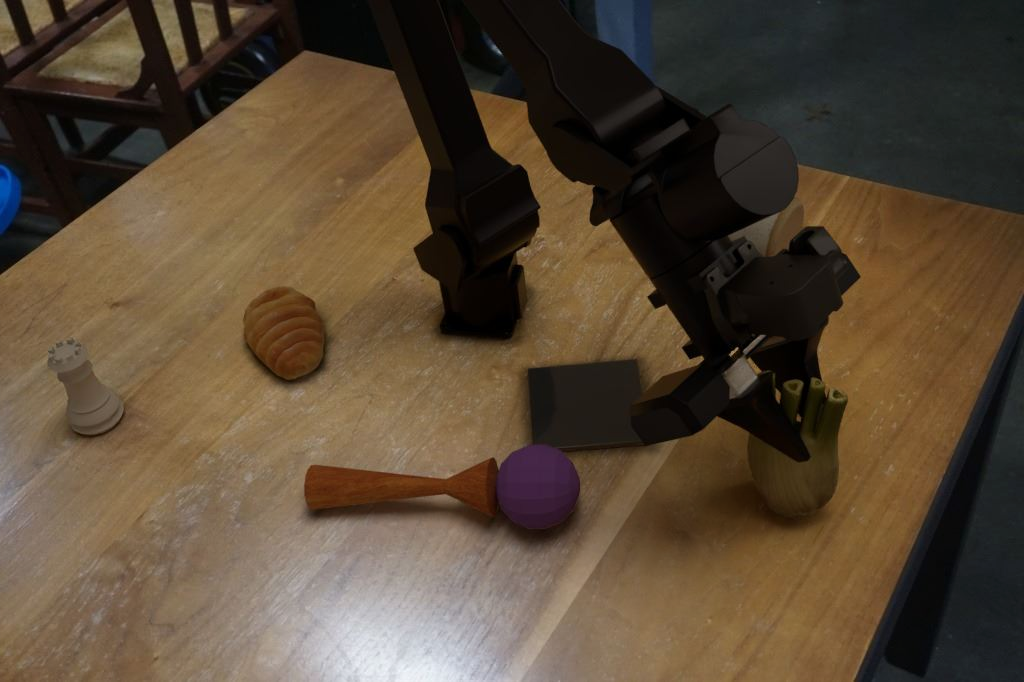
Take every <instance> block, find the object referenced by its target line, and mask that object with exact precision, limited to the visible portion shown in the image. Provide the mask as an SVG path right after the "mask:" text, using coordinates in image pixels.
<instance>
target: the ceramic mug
mask: <svg viewBox="0 0 1024 682" xmlns="http://www.w3.org/2000/svg"><path fill="white" fill-rule="evenodd" d="M804 218H805V207H804V205H803V202H802V200H801V199H799V198H798V197H797V196H796V195H795V196H794V199H793V200H792V202H791V203H790V204H789V205H788V207H787V208H786V209H784V210H783V211H781V212H779V213H777V214H775V215H772V216H770V217H768V218H766V219H764V220H761V221H759V222H757V223H755V224H752V225H750V226H748V227H746V228H744V229H741V230H739V231H737V232H735V233H732V234H730V235H728V237H729V238H730V240H731V241H734V240H736V239H738V238H740V237H742V236H745V238H746V239H747V241H751V242H752V243H753V244H754V246H755V247H756V249H757V250H758V252H759V253H761V254H762V255H763V256H764V257H772V256H775V255H776V254H777V253H778V252H780V251H781V250H782V249H788V250H789V243H790V241H791V239H792V238H794V237H795V236H796V235H797V234H798V233H799V232H800V231H801V230H803V229H802V228H803V225H804V224H803V223H804Z"/></svg>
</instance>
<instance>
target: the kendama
mask: <svg viewBox="0 0 1024 682" xmlns="http://www.w3.org/2000/svg"><path fill="white" fill-rule="evenodd" d="M303 495H304V500H305V503H306V506H307V507H308V508H309V509H310V510H311V511H312V510H322V509H329V508H330V509H331V508H338V507H339V508H340V507H347V506H355V505H363V504H372V503H382V502H390V501H400V500H408V499H416V498H425V497H434V496H441V495H442V496H443V495H446V496H448V497H450V498H452V499H454V500H457V501H459V502H461V503H463V504H465V505H468V506H469V507H471V508H474V509H475V510H478V511H480V512H482V513H484V514H486V515H488V516H490V517H494V516H495V515H496V514H497V512H498V508H500V509H501V511H502V512H503V513H504V514H505V515H506V516H507V517H508V518H509V519H510V520H511V522H513V523H514V524H516V525H519V526H521V527H523V528H526V529H528V530H546V529H549V528H551V527H553V526H556V525H559V524H561V523H562V522H563V521H565V519H566V518H568V517H569V515H570V514H571V513H572V512H573V511H574V510H575V508H576V505H577V503H578V500H579V497H580V495H581V478H580V475H579V473H578V471H577V468H576V466H575V464H574V462H573V461H572V460H571V458H570V457H568V455H566V453H564V452H562V451H561V450H558V449H556V448H554V447H551V446H549V445H532V444H527V445H525V446H523V447H520V448H518V449H516V450H513V451H511V452H510V453H509V454H508V456H507V457H506V458H505V459H504V460H503V461H502V462H501V463H500V466H498V462H497V460H496V458H495V457H494V456H493V457H490V458H487V459H485V460H483V461H481V462H479V463H477V464H475V465H472V466H471V467H468V468H467V469H464V470H462V471H460V472H458V473H456V474H453V475H452V476H450V477H448V478H447V477H446V478H442V477H441V478H439V477H433V476H432V477H430V476H421V475H413V474H404V473H395V472H384V471H376V470H367V469H356V468H348V467H342V466H341V467H340V466H331V465H321V464H311V465H310V466H309V467H308V468H307V471H306V473H305V476H304V484H303Z"/></svg>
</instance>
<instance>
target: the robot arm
mask: <svg viewBox="0 0 1024 682" xmlns="http://www.w3.org/2000/svg"><path fill="white" fill-rule="evenodd" d="M461 1H462V3H463V4H464V6H465V7H466V8H467V9H468V11H469V12H470V13H471V15H472V16H473V18H474V20H476V22H477V23H478V24H479V26H480V27H481V28H482V30H483V31H484V32H485V34H486V35H487V36H488V38H489V39H490V40H491V42H492V43H493V45H495V47H496V49H497V50H498V51H499V52H500V54H501V55H502V57H504V59H505V60H506V62H507V63H508V65H509V66H510V67H511V69H513V71H514V72H515V74H516V75H517V77H518V79H519V81H520V82H521V84H522V86H523V88H524V90H525V99H526V109H527V110H526V111H527V119H528V123H529V125H530V127H531V129H532V130H533V132H534V134H535V135H536V136H537V139H538V140H539V142H540V144H541V145H542V147H543V149H544V150H545V152H546V155H547V157H548V159H549V161H550V163H551V164H552V165H553V167H554V168H555V169H556V170H557V171H558V172H559V173H560V174H561V175H563V176H564V178H566V179H567V180H568V181H570V182H572V183H577V182H578V183H581V184H584V185H586V186H593V187H592V189H591V192H592V203H591V206H590V209H589V218H588V220H589V223H590V225H592V226H593V227H598V226H600V225H602V224H603V223H605V222H607V221H609V222H610V224H611V225H612V227H613V228H614V229H615V231H616V233H617V234H618V235H619V237H620V239H621V240H622V242H623V243H624V244H625V246H626V247H627V249H628V250H629V251H630V253H631V254H632V256H633V257H634V259H635V260H636V263H638V265H639V266H640V268H641V269H642V271H643V272H644V274H645V275H646V277H647V279H649V281H650V283H651V284H652V286H654V288H655V289H654V290H653V291H652V292H651V293H649V294H648V295H647V296H646V298H647V299H648V301H649V303H650V304H651V305H652V306H653V308H654V310H657V309H659V308H662V307H665V306H667V307H668V309H669V310H670V312H671V314H672V315H673V316H674V318H675V319H676V322H678V324H679V325H680V326H681V328H682V329H683V331H684V333H685V334H686V335H687V337H688V338H689V340H687V342H685V343H684V344H683V345H682V346H681V349H682V350H683V352H684V353H685V355H686V357H687V358H688V359H689V360H693V359H696V358H699V357H702V359H703V360H702V361H701V362H699V363H698V364H697V365H693V366H690V367H687V368H683V369H681V370H677V371H674V372H671V373H668V374H665V375H662V376H661V377H659V379H657V380H656V381H655V382H654V383H653V384H652V385H651V386H650V387H649V388H647V390H645V391H644V392H642V393H643V394H642V395H641V396H640V397H639V398H638V399H636V400H635V401H634V402H633V403H632V404H631V405H630V422H631V426H632V428H633V429H634V431H635V432H636V434H637V435H638V436H639V438H640V439H641V441H642V442H643V444H644V445H643V446H645V447H648V446H649V447H650V446H652V445H653V446H654V445H656V444H658V445H659V444H661V443H662V444H663V443H666V442H670V441H674V440H679V439H683V438H688V437H691V436H692V437H693V436H695V435H696V434H698V433H699V432H701V431H703V430H705V429H706V428H707V427H708V426H709V425H710V424H711V423H712V422H713V421H714V420H715V419H716V418H720V419H721V420H724V421H726V422H727V423H730V424H732V425H734V426H736V427H738V428H740V429H742V430H743V431H745V432H747V433H748V434H749V433H750V434H752V435H754V436H755V437H757V438H759V439H760V440H762V441H764V442H765V443H767V444H768V445H770V446H772V447H773V448H775V449H777V450H778V451H780V452H781V453H783V454H785V455H786V456H788V457H790V458H791V459H793V460H795V461H796V462H799V463H800V462H806V461H808V460H809V459H810V458H811V456H810V453H809V451H808V450H807V448H806V446H805V444H804V442H803V440H802V438H801V436H800V435H799V433H798V432H797V430H796V429H795V427H794V426H793V424H792V423H791V421H790V420H789V418H788V417H787V415H786V414H785V412H784V411H783V409H782V408H781V406H780V405H779V403H780V402H779V401H778V400H777V397H776V398H775V397H774V395H773V373H775V383H776V391H778V392H779V394H780V395H781V392H782V387H783V384H784V382H787V381H790V380H795V379H797V380H800V381H802V382H803V385H804V386H803V390H802V396H801V402H800V405H799V410H798V416H799V417H800V418H801V417H802V414H803V409H804V406H805V402H806V398H807V394H808V390H809V386H810V381H811V378H812V377H815V378H818V379H820V380H821V381H823V379H822V374H821V369H820V363H819V355H818V348H819V345H820V342H821V339H822V335H823V332H824V330H825V329H826V327H827V326H828V325H829V322H830V317H829V316H830V315H831V314H832V313H833V312H838V311H840V309H841V308H842V307H843V306H844V301H843V295H844V294H845V293H846V292H847V291H849V289H850V288H851V287H853V285H855V283H857V282H858V281H859V280H860V279H861V278H862V276H861V275H860V273H859V271H858V270H857V268H856V267H855V266H854V264H853V262H852V261H851V260H850V258H849V256H848V255H847V254H846V253H843V251H842V249H841V247H840V245H839V244H838V243H837V241H836V240H835V239H834V237H833V236H832V235H831V234H830V233H829V231H828V230H827V229H826V228H825V226H824V225H815V226H814V225H808V226H805V227H803V229H801V231H800V232H799V233H798V234H797V235H796V236H795V237H794V238H792V239H791V241H790V243H789V250H788V249H782V250H781V251H780V252H778V253H777V254H776V255H775V256H772V257H764V256H763V255H762V254H761V253H759V252H758V250H757V249H756V247H755V246H754V244H753V243H752V242H751V241H747V239H746V238H745V236H742V237H740V238H738V239H736V240H734V241H731V240H730V238H729V237H728V235H730V234H732V233H735V232H737V231H739V230H741V229H744V228H746V227H748V226H750V225H752V224H755V223H757V222H759V221H761V220H764V219H766V218H768V217H770V216H772V215H775V214H777V213H779V212H781V211H783V210H784V209H786V208H787V207H788V205H789V204H790V203H791V202H792V200H793V199H794V196H795V197H796V194H797V192H798V186H799V181H800V177H799V175H800V174H799V173H800V172H799V165H798V161H797V156H796V154H795V153H794V150H793V148H792V147H791V145H790V142H788V140H787V139H786V137H784V136H782V135H779V134H778V132H776V131H775V129H773V128H772V127H771V126H768V125H767V124H765V123H763V122H760V121H757V120H755V119H742V118H741V116H740V114H739V113H738V112H737V110H736V108H735V106H734V105H733V104H731V103H729V102H728V103H726V104H725V105H722V106H721V107H720V108H719V109H716V110H715V111H713V112H711V114H709V115H708V116H707V115H705V114H704V113H702V112H701V111H700V110H699V109H698V108H696V107H693V106H690V105H689V104H687V103H685V102H684V101H682V100H680V99H679V98H678V97H675V96H674V95H672V94H671V93H669V92H668V91H666V90H664V89H663V88H661V87H659V86H658V85H656V84H655V82H654V81H653V80H651V78H650V77H649V76H648V75H647V74H646V73H645V72H644V71H643V70H642V69H641V68H640V67H639V66H638V65H637V64H636V62H634V61H633V60H632V59H631V58H630V57H629V56H628V54H626V53H625V52H624V51H623V50H622V49H620V48H619V47H616V46H614V45H612V44H610V43H607V42H606V41H602V40H601V39H599V38H597V37H594V36H591V35H589V34H588V33H587V31H585V30H584V29H583V28H582V27H581V26H580V25H579V24H578V23H577V21H576V20H575V19H574V18H573V16H572V15H571V14H570V13H569V11H568V10H567V8H566V7H565V5H564V4H563V3H562V2H561V0H461ZM366 2H367V4H368V7H369V9H370V12H371V14H372V18H373V20H374V22H375V25H376V27H377V30H378V33H379V35H380V38H381V41H382V44H383V46H384V49H385V52H386V53H387V56H388V59H389V62H390V64H391V67H392V69H393V72H394V74H395V77H396V81H397V82H398V85H399V88H400V90H401V93H402V95H403V98H404V101H405V103H406V106H407V108H408V111H409V113H410V116H411V118H412V121H413V123H414V127H415V129H416V132H417V134H418V136H419V139H420V142H421V145H422V147H423V149H424V152H425V155H426V157H427V160H428V164H429V166H430V171H429V178H428V184H427V190H426V196H425V202H424V207H425V208H424V209H425V213H426V215H427V218H428V222H429V225H430V229H431V232H432V233H431V234H429V235H428V236H427V237H426V238H424V239H423V240H421V242H419V243H418V244H416V245H415V246H414V247H413V253H414V255H415V257H416V259H417V262H418V265H419V267H420V269H421V271H423V272H424V273H426V274H427V275H428V276H430V277H431V278H433V279H434V280H436V281H438V284H439V288H440V289H439V290H440V294H441V300H442V307H443V312H444V313H443V316H442V317H441V321H440V323H439V326H438V327H439V331H440V333H443V334H450V335H461V336H473V337H482V338H493V339H503V340H504V339H505V340H507V339H512V337H513V336H514V333H515V331H516V330H515V329H516V327H517V324H518V321H520V320H521V319H522V318H523V316H524V312H525V309H526V306H527V303H528V291H527V283H526V282H527V281H526V275H525V267H524V265H523V264H520V263H519V264H518V257H517V252H519V251H521V250H522V249H524V248H528V247H529V246H531V244H532V240H533V238H534V237H535V236H536V233H537V230H538V228H540V227H541V226H540V225H541V220H540V214H539V210H540V209H541V205H540V203H539V200H537V198H536V196H535V194H534V191H533V189H532V186H531V181H530V178H529V173H528V171H527V169H525V167H524V166H523V165H522V164H520V163H517V164H512V163H511V162H509V160H507V159H506V158H504V157H503V156H502V155H501V154H499V153H498V152H497V151H496V150H495V149H493V148H492V145H491V143H490V141H489V138H488V136H487V133H486V130H485V127H484V124H483V121H482V119H481V116H480V113H479V110H478V108H477V105H476V102H475V99H474V97H473V94H472V91H471V88H470V85H469V83H468V80H467V77H466V74H465V71H464V69H463V66H462V63H461V60H460V57H459V54H458V52H457V48H456V45H455V43H454V41H453V36H452V34H451V32H450V29H449V26H448V23H447V21H446V17H445V15H444V12H443V9H442V7H441V4H440V1H439V0H366ZM737 348H738V349H737ZM736 349H737V350H736ZM732 352H733V354H732ZM748 359H750V360H751V361H752V363H753V364H754V365H755V366H756V368H758V369H759V371H760V372H762V371H766V370H770V372H766V373H763V374H759V375H757V374H758V373H757V372H756V371H755V370H754V368H753V366H752V365H751V363H750V362H749V360H748ZM826 397H827V394H826V391H825V392H824V396H823V399H822V404H824V403H825V400H826Z"/></svg>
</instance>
